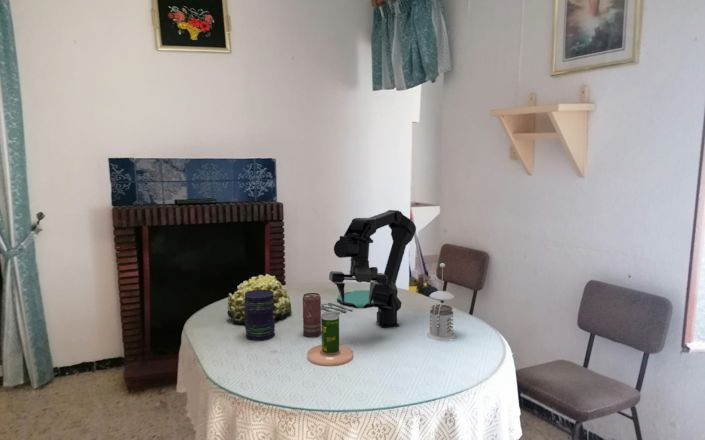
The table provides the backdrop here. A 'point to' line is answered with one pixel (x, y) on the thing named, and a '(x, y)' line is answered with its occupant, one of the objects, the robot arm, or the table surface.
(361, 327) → the table surface
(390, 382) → the table surface
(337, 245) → the robot arm
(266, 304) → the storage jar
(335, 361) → the saucer
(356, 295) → the cutlery set
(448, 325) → the french press
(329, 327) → the beer can
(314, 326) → the can
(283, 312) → the cauliflower
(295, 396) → the table surface
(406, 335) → the table surface
